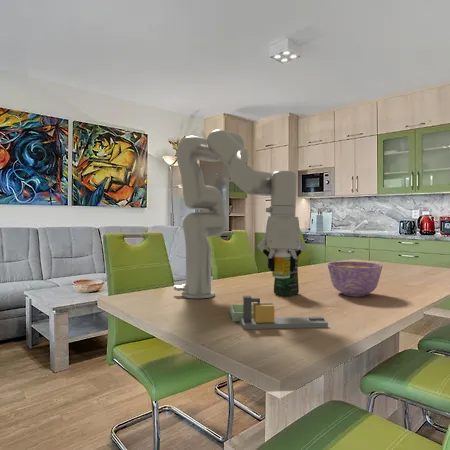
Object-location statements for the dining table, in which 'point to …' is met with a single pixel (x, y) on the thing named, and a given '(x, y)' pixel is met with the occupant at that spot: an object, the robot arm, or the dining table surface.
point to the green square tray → (237, 312)
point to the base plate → (287, 323)
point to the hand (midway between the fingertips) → (281, 270)
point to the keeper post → (248, 308)
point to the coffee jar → (288, 282)
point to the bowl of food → (354, 277)
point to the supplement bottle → (281, 263)
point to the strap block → (263, 312)
